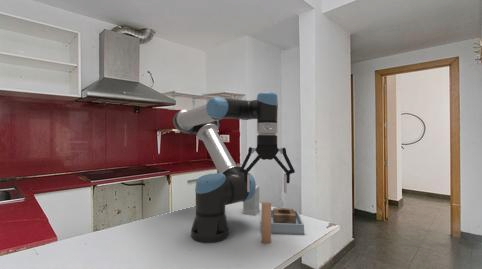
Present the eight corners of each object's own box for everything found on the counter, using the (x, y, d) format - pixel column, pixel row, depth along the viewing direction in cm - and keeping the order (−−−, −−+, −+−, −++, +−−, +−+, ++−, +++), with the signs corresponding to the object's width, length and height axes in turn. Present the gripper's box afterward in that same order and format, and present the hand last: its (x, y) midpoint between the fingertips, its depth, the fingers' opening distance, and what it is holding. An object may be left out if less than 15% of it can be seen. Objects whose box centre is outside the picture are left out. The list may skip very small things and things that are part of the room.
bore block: (274, 227, 100) (274, 214, 100) (273, 219, 109) (273, 208, 109) (295, 228, 99) (296, 215, 99) (293, 220, 108) (293, 208, 108)
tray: (260, 233, 96) (261, 223, 96) (261, 217, 113) (261, 209, 113) (303, 234, 95) (304, 224, 95) (297, 219, 112) (297, 210, 111)
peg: (261, 243, 87) (261, 205, 87) (261, 238, 91) (261, 202, 91) (271, 243, 87) (271, 205, 87) (270, 239, 91) (270, 202, 90)
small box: (247, 209, 126) (248, 184, 126) (259, 210, 124) (259, 185, 124) (242, 213, 119) (242, 187, 119) (255, 215, 117) (255, 188, 116)
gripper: (232, 134, 86) (232, 193, 86) (303, 134, 84) (302, 195, 84) (234, 134, 93) (234, 188, 94) (299, 134, 91) (299, 189, 92)
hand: (266, 191), depth 89 cm, fingers open, 13 cm apart
